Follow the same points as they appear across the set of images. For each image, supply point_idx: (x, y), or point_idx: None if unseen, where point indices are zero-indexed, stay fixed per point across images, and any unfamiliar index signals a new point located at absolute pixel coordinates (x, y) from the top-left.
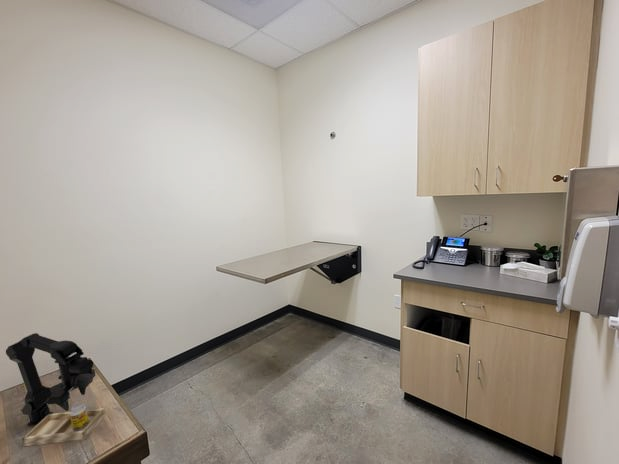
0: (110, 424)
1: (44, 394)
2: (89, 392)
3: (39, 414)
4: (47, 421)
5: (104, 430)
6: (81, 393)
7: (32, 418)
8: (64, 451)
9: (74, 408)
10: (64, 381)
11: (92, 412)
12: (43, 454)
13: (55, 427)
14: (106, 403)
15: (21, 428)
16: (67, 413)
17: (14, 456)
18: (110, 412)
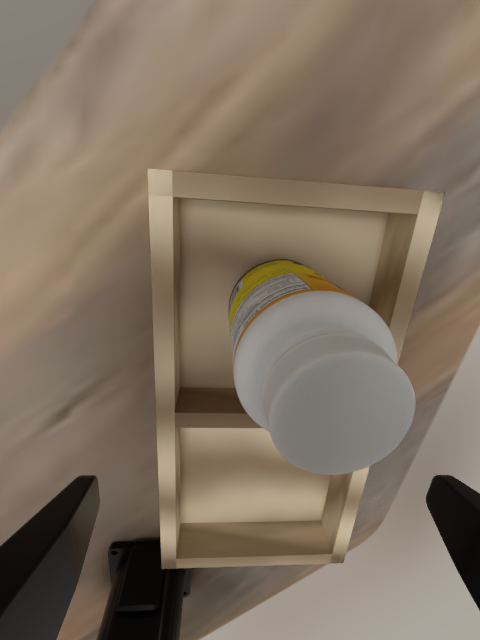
0: (296, 44)
1: None
2: None
3: (168, 610)
4: (196, 529)
5: (355, 69)
6: (88, 533)
7: (181, 613)
8: (454, 284)
9: (402, 417)
10: None
11: (175, 281)
12: (424, 392)
13: (247, 459)
14: (23, 254)
15: (202, 596)
16: (174, 467)
17: (379, 510)
18: (138, 141)
